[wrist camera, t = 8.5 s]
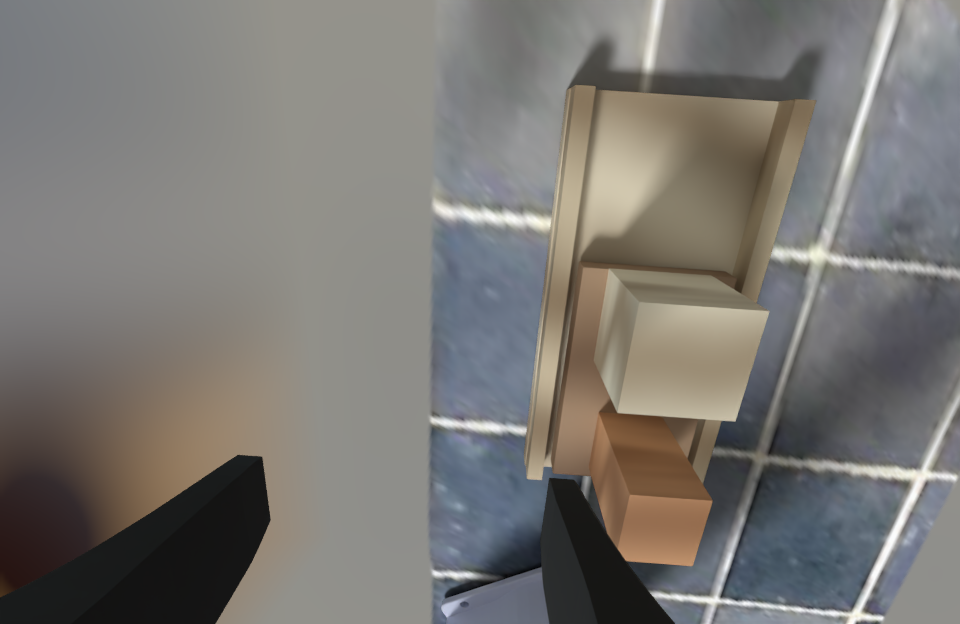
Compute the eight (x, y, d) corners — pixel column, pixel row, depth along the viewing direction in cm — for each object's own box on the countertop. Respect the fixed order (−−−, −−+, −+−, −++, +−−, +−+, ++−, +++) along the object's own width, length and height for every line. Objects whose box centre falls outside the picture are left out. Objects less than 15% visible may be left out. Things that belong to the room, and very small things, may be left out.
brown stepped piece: (673, 468, 22) (733, 579, 16) (550, 459, 22) (569, 566, 16) (724, 271, 18) (824, 327, 13) (578, 261, 19) (614, 312, 13)
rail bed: (686, 466, 23) (701, 491, 21) (523, 454, 23) (525, 478, 22) (786, 104, 17) (817, 100, 15) (566, 90, 17) (574, 84, 16)
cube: (688, 366, 19) (735, 421, 15) (593, 359, 19) (617, 412, 15) (711, 275, 18) (769, 311, 14) (608, 268, 18) (639, 302, 14)
